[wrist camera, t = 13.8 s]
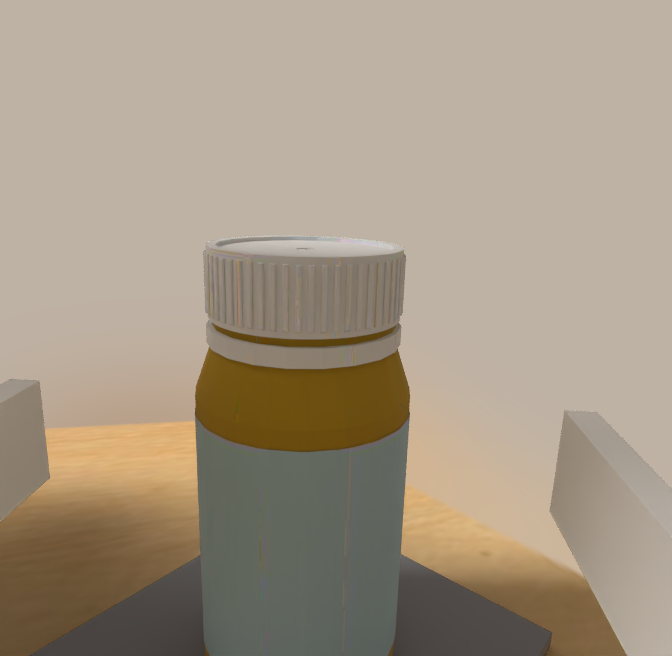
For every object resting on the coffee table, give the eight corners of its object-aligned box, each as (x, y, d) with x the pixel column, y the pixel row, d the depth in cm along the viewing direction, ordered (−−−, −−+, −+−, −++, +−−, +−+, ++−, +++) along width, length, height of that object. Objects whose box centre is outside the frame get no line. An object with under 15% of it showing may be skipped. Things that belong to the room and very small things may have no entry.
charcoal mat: (27, 671, 20) (25, 657, 20) (295, 509, 31) (295, 499, 30) (315, 1051, 12) (316, 1032, 11) (550, 645, 22) (552, 632, 22)
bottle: (333, 562, 25) (343, 233, 22) (432, 676, 20) (469, 253, 16) (182, 617, 22) (163, 236, 18) (247, 775, 16) (239, 265, 12)
